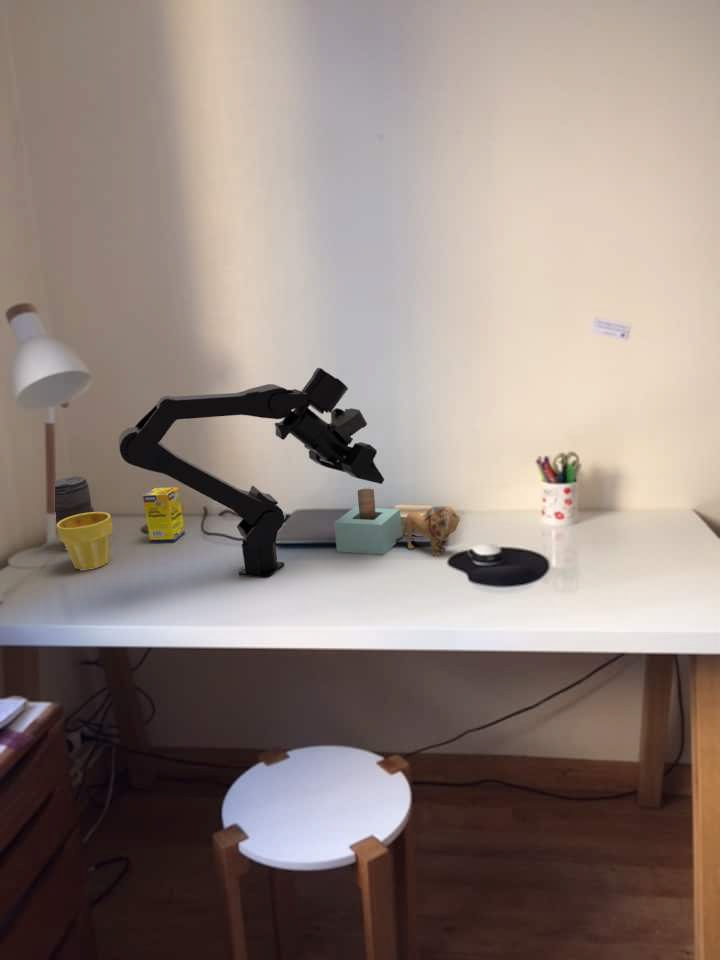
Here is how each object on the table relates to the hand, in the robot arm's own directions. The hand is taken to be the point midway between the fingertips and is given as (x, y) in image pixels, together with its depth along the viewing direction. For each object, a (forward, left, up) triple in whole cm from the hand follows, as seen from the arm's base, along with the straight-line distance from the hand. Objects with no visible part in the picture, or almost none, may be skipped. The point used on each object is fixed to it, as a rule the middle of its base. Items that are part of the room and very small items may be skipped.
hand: (370, 477), depth 145 cm
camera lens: (-13, +66, -14) cm, 69 cm away
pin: (-1, +1, -10) cm, 11 cm away
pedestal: (+9, -4, -13) cm, 17 cm away
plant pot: (-22, +54, -14) cm, 60 cm away
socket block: (-1, +1, -13) cm, 14 cm away
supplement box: (-5, +48, -14) cm, 50 cm away
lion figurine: (-2, -12, -14) cm, 18 cm away
